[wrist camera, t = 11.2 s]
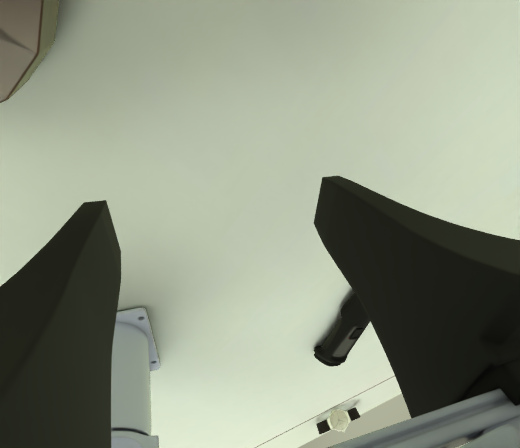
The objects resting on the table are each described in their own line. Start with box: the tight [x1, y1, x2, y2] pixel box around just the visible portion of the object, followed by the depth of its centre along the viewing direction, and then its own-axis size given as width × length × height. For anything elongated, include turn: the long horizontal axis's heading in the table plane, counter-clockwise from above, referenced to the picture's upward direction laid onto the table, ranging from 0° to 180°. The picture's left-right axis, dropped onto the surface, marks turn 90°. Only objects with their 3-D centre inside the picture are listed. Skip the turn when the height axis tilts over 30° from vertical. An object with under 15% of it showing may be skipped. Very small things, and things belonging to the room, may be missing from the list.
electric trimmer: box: [314, 293, 370, 366], centre depth 36 cm, size 4×16×3 cm, turn 163°
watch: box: [316, 408, 360, 434], centre depth 55 cm, size 8×5×4 cm, turn 102°
